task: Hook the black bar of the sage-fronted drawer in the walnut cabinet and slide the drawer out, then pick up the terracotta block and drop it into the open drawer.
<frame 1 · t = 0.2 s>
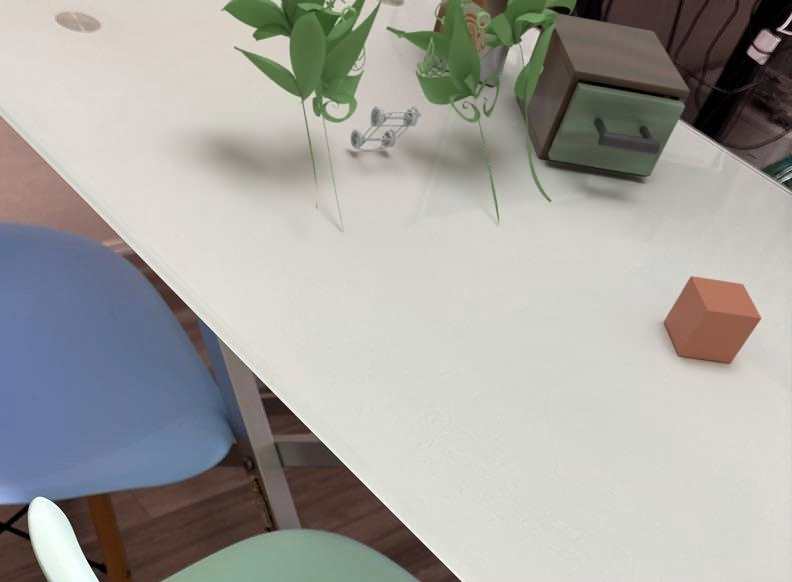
cabinet: (579, 134, 112), on the table
drawer: (606, 113, 106), point 5 cm above the table, slide at 0.5 cm
coffee box: (462, 67, 119), on the table
plant cuttings: (387, 181, 98), on the table
block: (696, 342, 88), on the table
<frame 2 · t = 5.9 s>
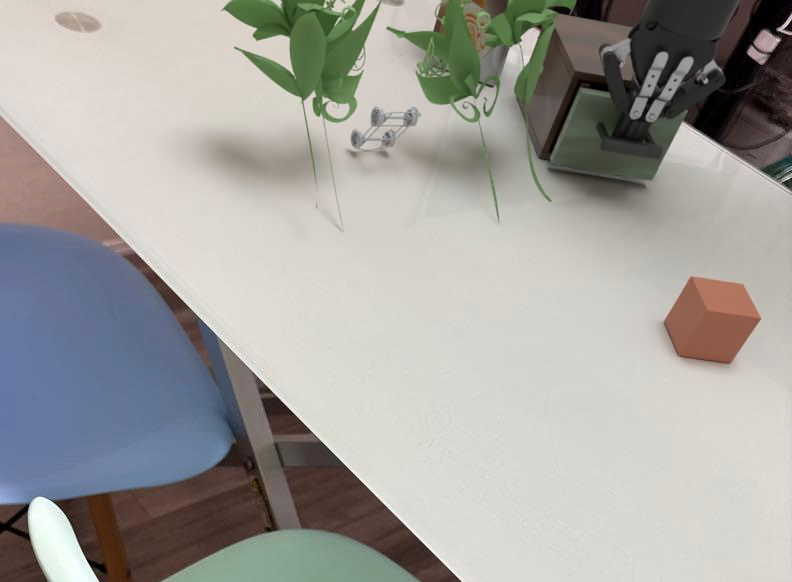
hand: (621, 150, 101), 5 cm above the table, tool pointing down, fingers closed
drawer: (608, 117, 105), point 5 cm above the table, slide at 1.5 cm, touching gripper
everything else where it was.
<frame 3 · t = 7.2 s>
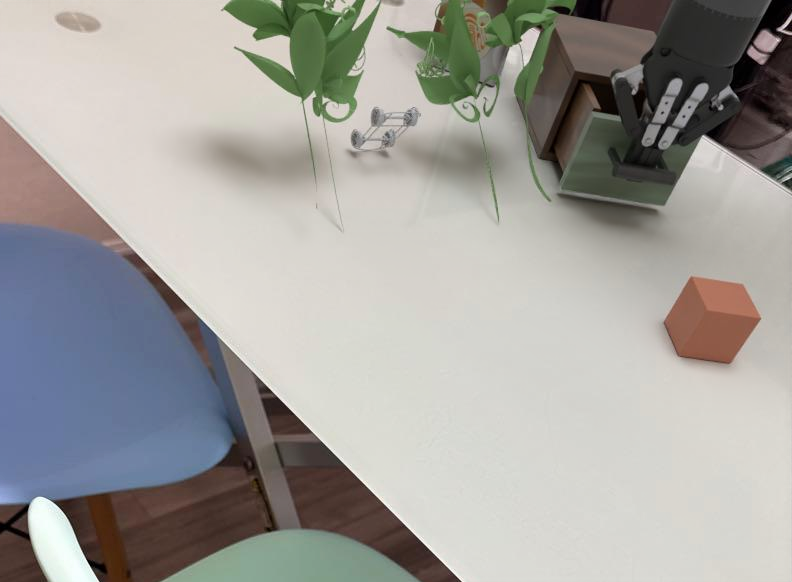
hand: (632, 177, 98), 4 cm above the table, tool pointing down, fingers closed
drawer: (619, 141, 102), point 5 cm above the table, slide at 6.5 cm, touching gripper
everything else where it was.
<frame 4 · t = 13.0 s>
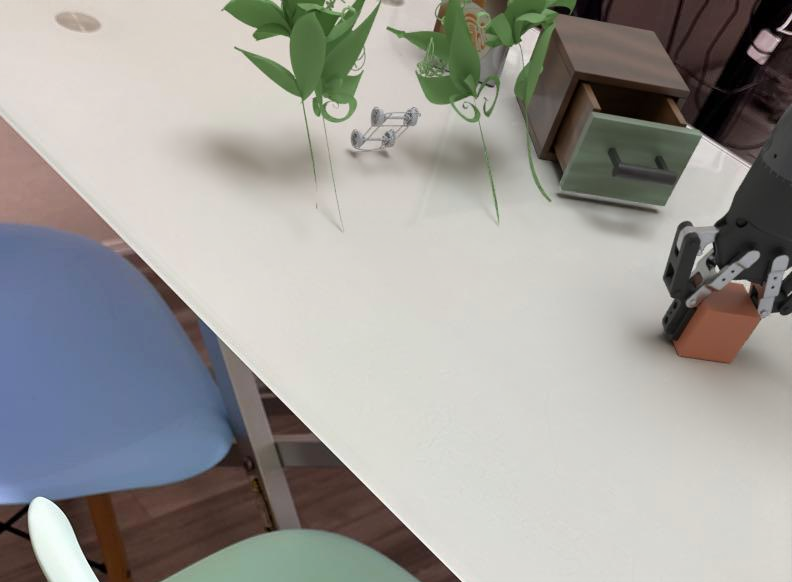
hand: (699, 338, 88), 0 cm above the table, tool pointing down, fingers closed on block, 5 cm apart
drawer: (619, 141, 102), point 5 cm above the table, slide at 6.6 cm
block: (696, 342, 88), on the table, touching gripper
everything else where it was.
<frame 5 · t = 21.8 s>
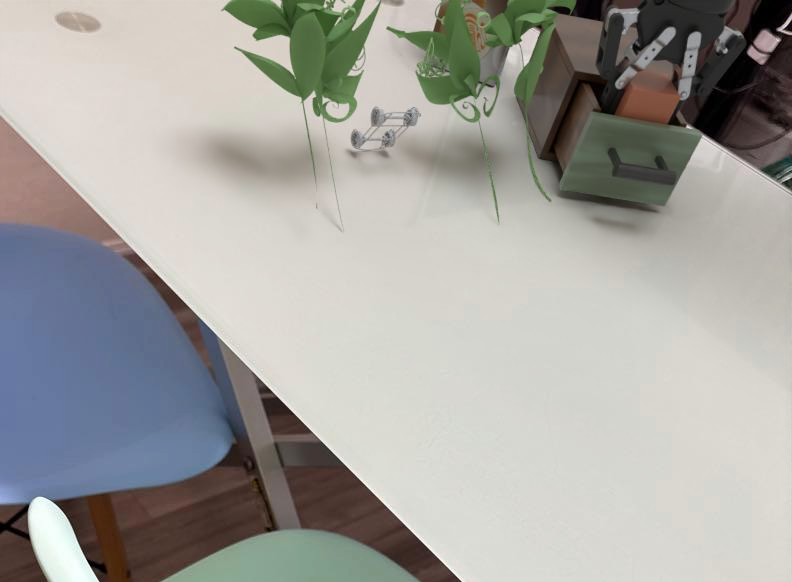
hand: (629, 125, 100), 7 cm above the table, tool pointing down, fingers closed on block, 5 cm apart
block: (627, 129, 100), point 6 cm above the table, touching gripper
everything else where it was.
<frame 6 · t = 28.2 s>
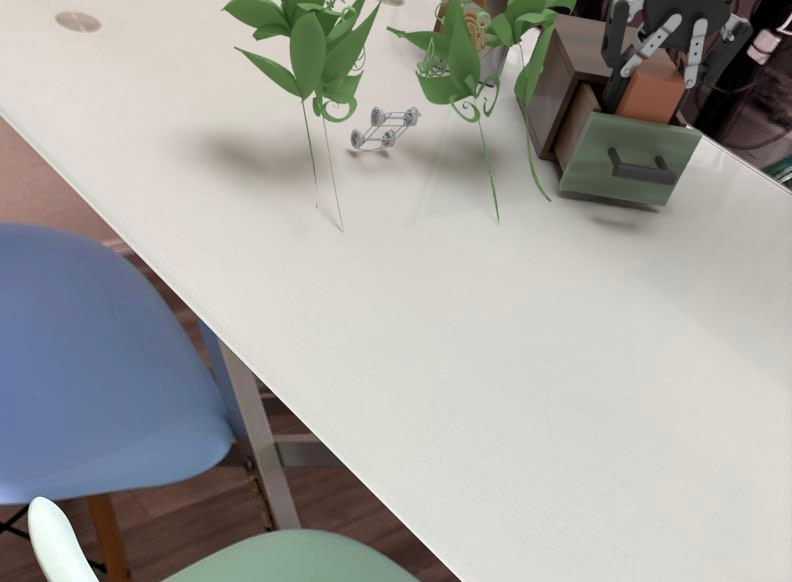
hand: (635, 114, 99), 8 cm above the table, tool pointing down, fingers closed on block, 5 cm apart
block: (632, 118, 99), point 7 cm above the table, touching gripper
everything else where it was.
when the fingers open (9 cm above the table, at t = 34.4 s): block drops 6 cm, resting on drawer.
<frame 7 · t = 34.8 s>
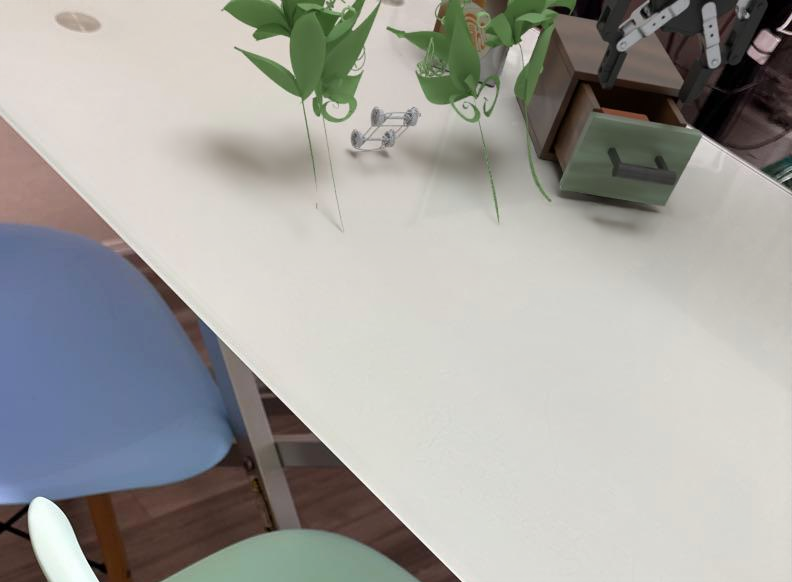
hand: (644, 93, 97), 10 cm above the table, tool pointing down, fingers open, 8 cm apart
drawer: (619, 141, 102), point 5 cm above the table, slide at 6.6 cm, touching block
block: (608, 168, 103), point 2 cm above the table, touching drawer
everything else where it was.
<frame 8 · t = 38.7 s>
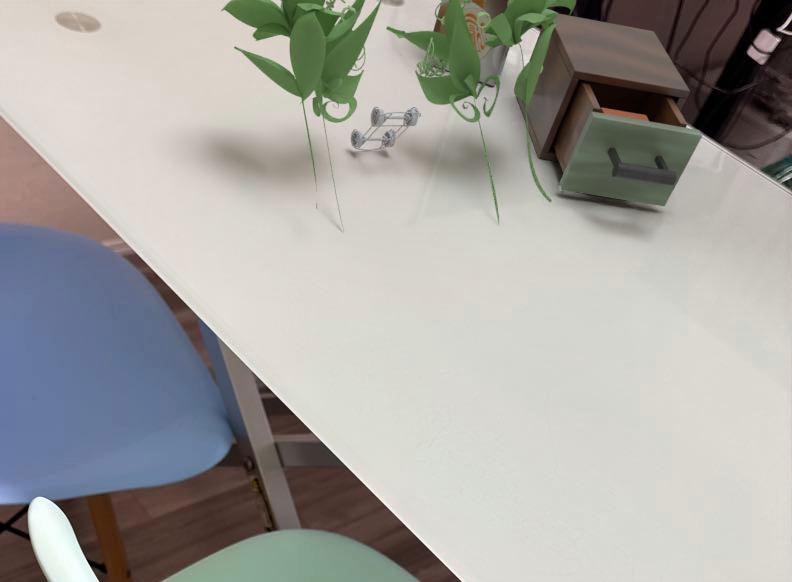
nothing on the table moved.
at the end: drawer slide at 6.6 cm; block inside the target area in the drawer (0.1 cm from its centre), point 2.0 cm above the cabinet's base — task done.
